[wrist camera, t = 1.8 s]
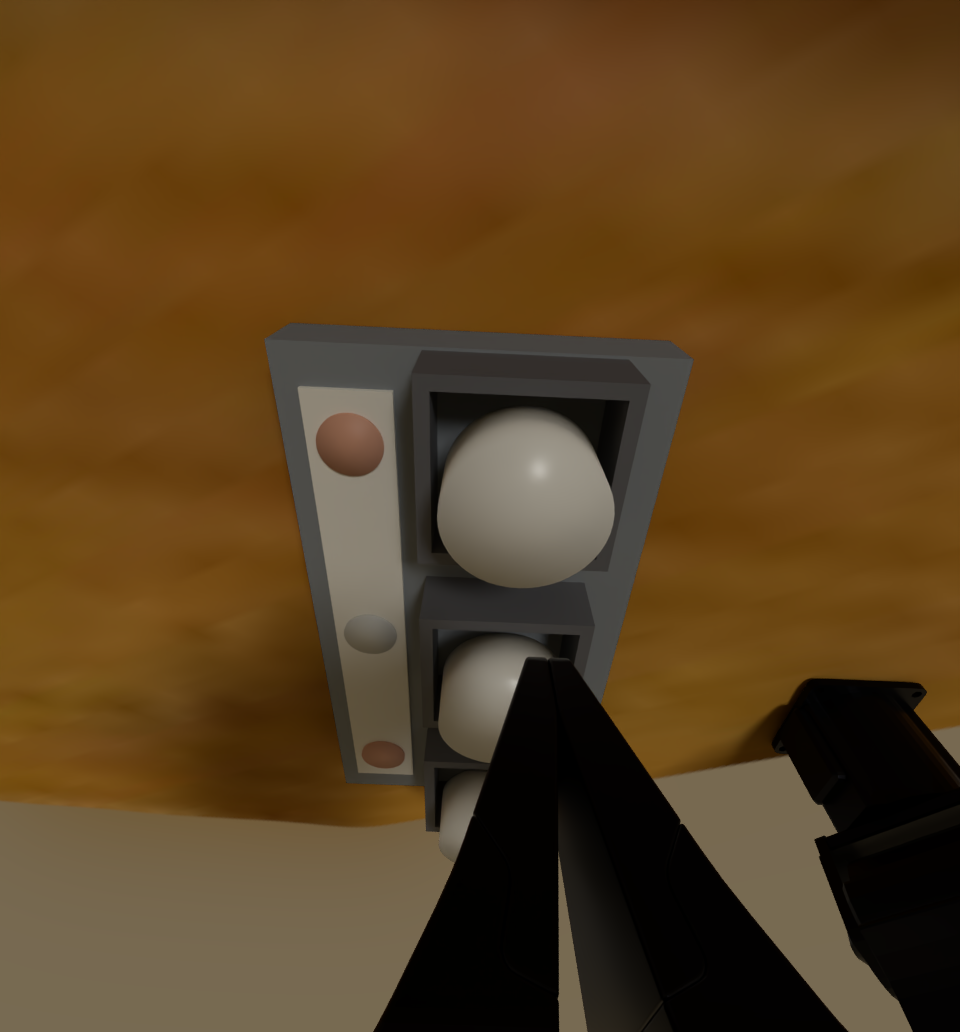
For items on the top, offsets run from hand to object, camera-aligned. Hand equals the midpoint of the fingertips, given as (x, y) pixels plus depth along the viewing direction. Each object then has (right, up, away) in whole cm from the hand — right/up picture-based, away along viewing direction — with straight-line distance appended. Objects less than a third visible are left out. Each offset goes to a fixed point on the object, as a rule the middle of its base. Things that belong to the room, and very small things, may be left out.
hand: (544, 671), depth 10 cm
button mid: (0, -4, +12) cm, 12 cm away
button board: (-2, -1, +16) cm, 16 cm away
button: (0, +4, +7) cm, 8 cm away
